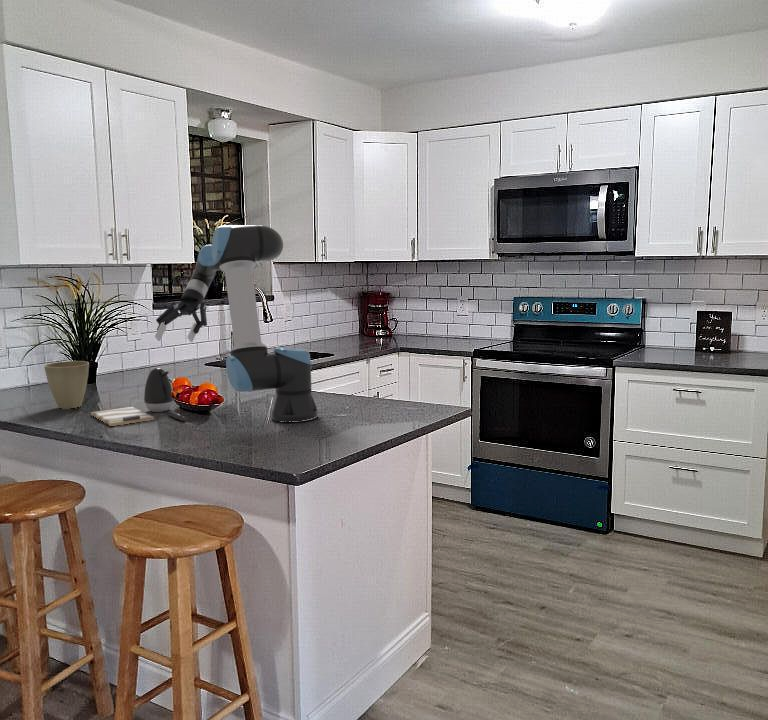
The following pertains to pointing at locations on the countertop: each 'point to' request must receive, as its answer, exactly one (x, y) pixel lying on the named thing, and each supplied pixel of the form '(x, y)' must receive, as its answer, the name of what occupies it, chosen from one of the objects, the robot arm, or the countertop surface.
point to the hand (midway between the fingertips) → (173, 339)
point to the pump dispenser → (158, 391)
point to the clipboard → (122, 416)
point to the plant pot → (67, 382)
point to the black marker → (177, 416)
